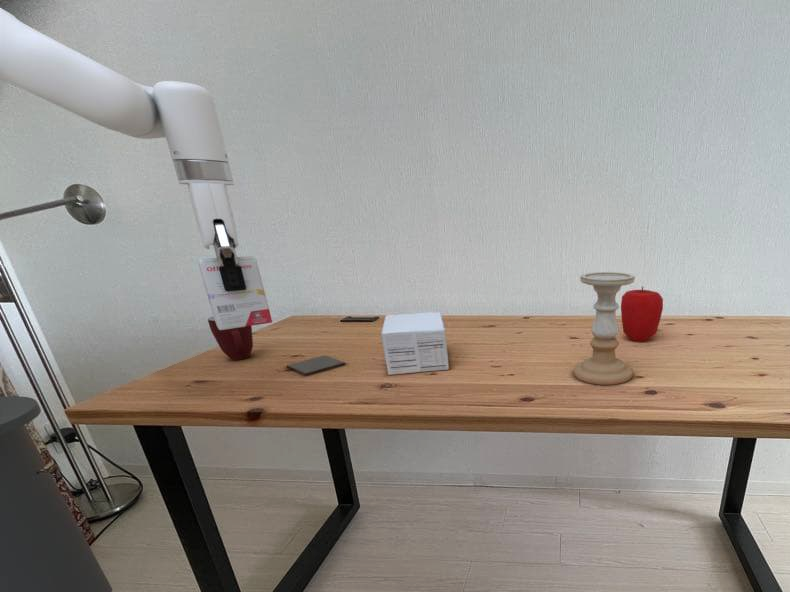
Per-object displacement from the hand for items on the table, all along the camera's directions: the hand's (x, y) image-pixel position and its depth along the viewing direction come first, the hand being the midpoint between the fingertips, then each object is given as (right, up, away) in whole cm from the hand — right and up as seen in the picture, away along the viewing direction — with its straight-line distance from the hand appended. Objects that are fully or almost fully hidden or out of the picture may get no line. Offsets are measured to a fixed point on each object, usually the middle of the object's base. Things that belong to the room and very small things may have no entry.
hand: (234, 287), depth 81 cm
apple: (+81, -4, +38) cm, 89 cm away
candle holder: (+68, -15, +14) cm, 71 cm away
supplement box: (+27, -11, +24) cm, 38 cm away
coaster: (+4, -12, +21) cm, 25 cm away
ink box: (0, -6, +3) cm, 7 cm away
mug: (-16, -10, +27) cm, 33 cm away
